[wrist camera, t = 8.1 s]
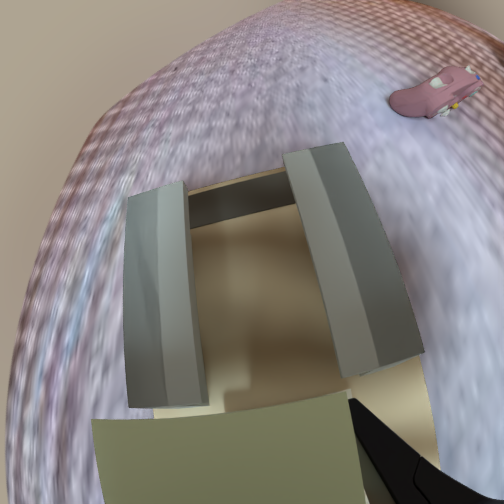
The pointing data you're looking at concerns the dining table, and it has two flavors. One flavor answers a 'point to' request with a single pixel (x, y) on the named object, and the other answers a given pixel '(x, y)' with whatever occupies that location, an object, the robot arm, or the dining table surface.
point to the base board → (278, 315)
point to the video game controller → (437, 93)
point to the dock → (325, 265)
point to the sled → (234, 456)
